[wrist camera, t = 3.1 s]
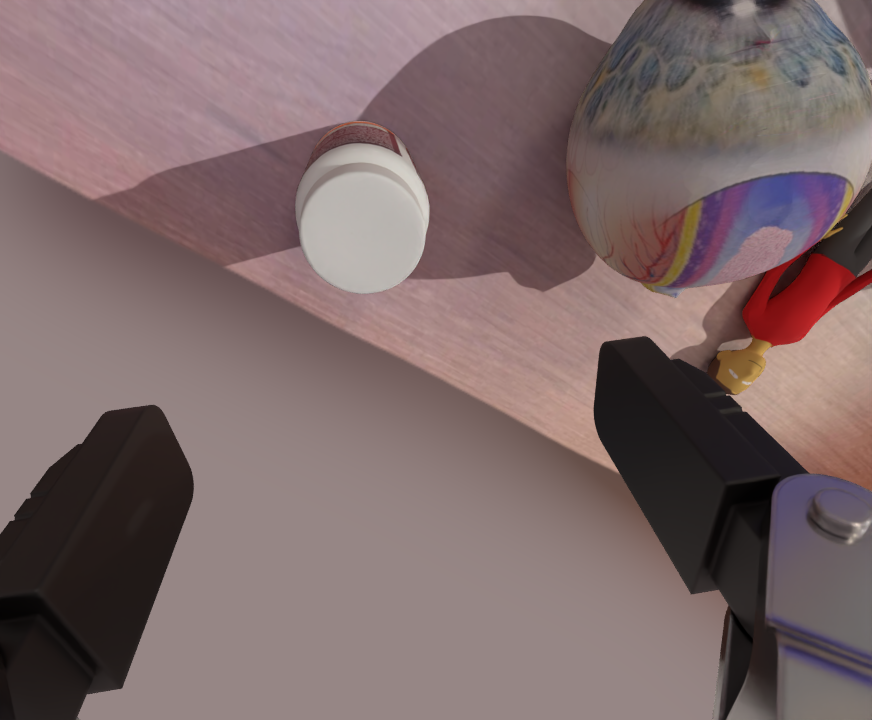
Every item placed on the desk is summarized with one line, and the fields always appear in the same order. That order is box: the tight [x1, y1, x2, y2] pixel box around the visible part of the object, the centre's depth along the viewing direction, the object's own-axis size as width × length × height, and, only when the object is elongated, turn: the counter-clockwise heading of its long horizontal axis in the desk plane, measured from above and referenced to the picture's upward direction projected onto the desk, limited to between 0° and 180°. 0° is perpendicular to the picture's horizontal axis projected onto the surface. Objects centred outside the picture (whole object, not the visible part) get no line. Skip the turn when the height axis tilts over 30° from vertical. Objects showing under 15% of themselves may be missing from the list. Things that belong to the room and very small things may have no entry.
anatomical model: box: [566, 0, 872, 298], centre depth 19 cm, size 10×12×10 cm
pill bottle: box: [295, 121, 430, 294], centre depth 20 cm, size 5×5×8 cm
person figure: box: [707, 189, 872, 395], centre depth 27 cm, size 5×4×18 cm
